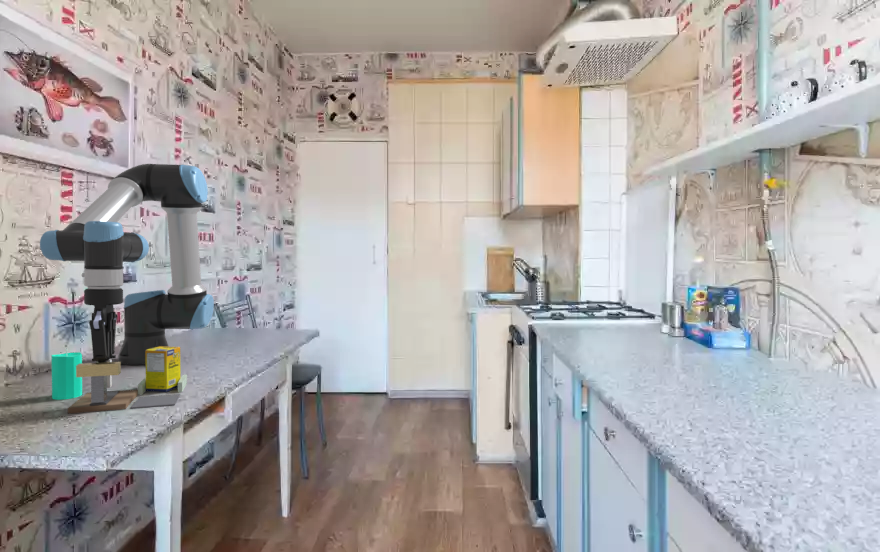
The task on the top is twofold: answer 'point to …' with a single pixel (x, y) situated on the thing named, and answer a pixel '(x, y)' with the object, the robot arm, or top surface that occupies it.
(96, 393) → the t key
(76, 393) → the candle
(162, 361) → the supplement box
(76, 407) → the board
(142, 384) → the clip holder
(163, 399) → the mat
